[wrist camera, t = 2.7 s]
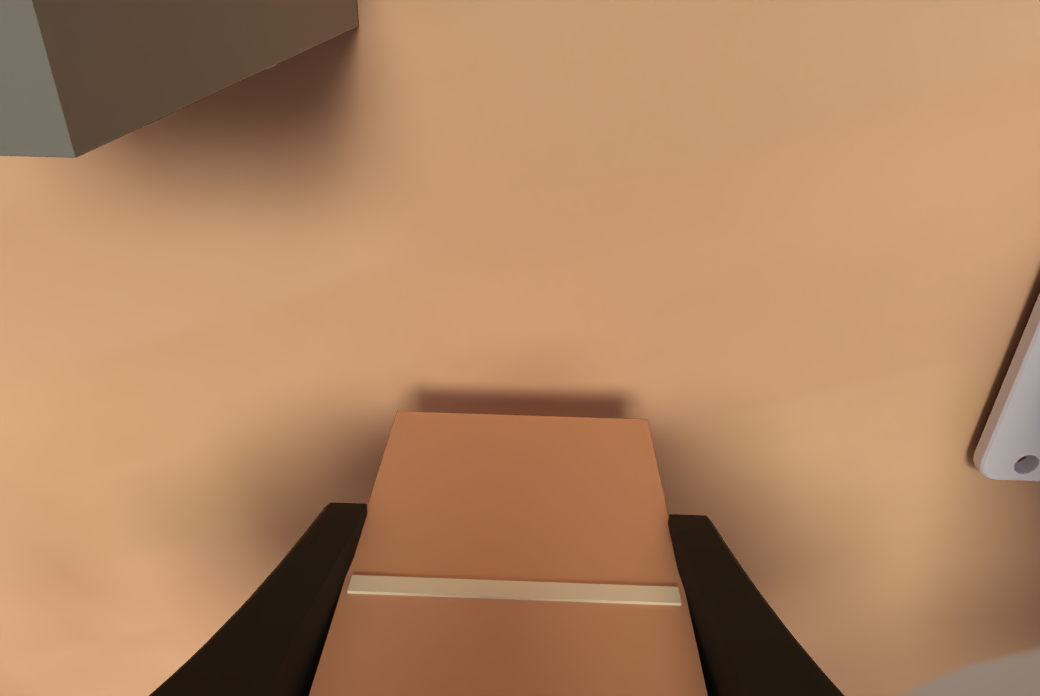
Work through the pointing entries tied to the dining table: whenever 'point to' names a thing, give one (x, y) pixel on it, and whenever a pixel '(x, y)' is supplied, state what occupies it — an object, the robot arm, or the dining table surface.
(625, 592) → the terracotta domino
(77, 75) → the domino
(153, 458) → the dining table surface
